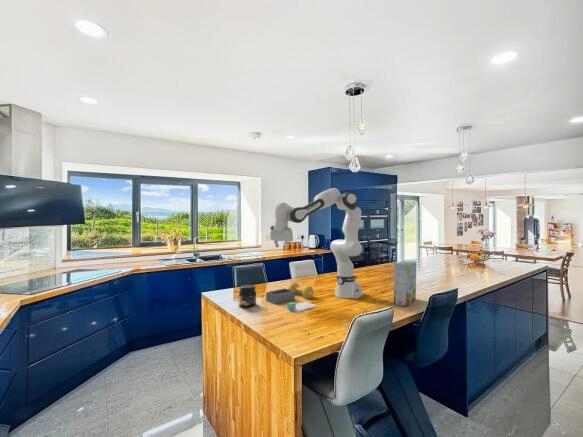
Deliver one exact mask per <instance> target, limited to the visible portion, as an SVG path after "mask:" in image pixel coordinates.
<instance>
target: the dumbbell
mask: <svg viewBox="0 0 583 437" xmlns="http://www.w3.org/2000/svg"><path fill="white" fill-rule="evenodd" d="M287 289H289V290H293V291H295V295H297V294H302V297H303V298H304V299H311V298H313V297H314V293H315V292H314V291H315V290H314V288H313V287H312V286H310V285H307V286H304V287H300V285H299V283H298V282H290V284H289V286H288V288H287Z"/></svg>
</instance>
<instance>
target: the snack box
mask: <svg viewBox="0 0 583 437" xmlns="http://www.w3.org/2000/svg"><path fill="white" fill-rule="evenodd" d="M393 280H394V282H393V283H394V284H393V286H394V287H393V305H397V306H401V307H408V306H409V305H410V304H411V303H412V302H414V301H416V299H417V297H416V296H417V261H415V260H407V259H406V260H401V261H399V262H397V263H394V277H393Z"/></svg>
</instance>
